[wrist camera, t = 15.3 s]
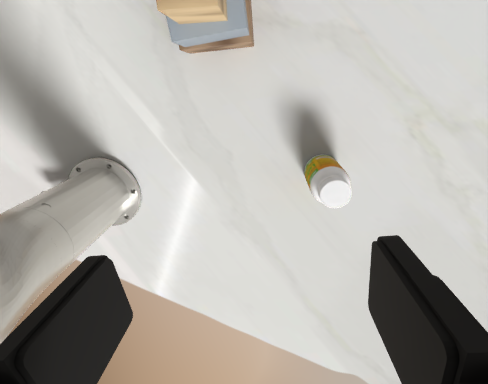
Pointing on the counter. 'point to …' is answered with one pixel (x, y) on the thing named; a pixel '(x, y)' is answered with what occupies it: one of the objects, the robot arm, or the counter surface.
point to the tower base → (229, 43)
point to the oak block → (194, 10)
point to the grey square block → (212, 27)
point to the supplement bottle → (328, 181)
